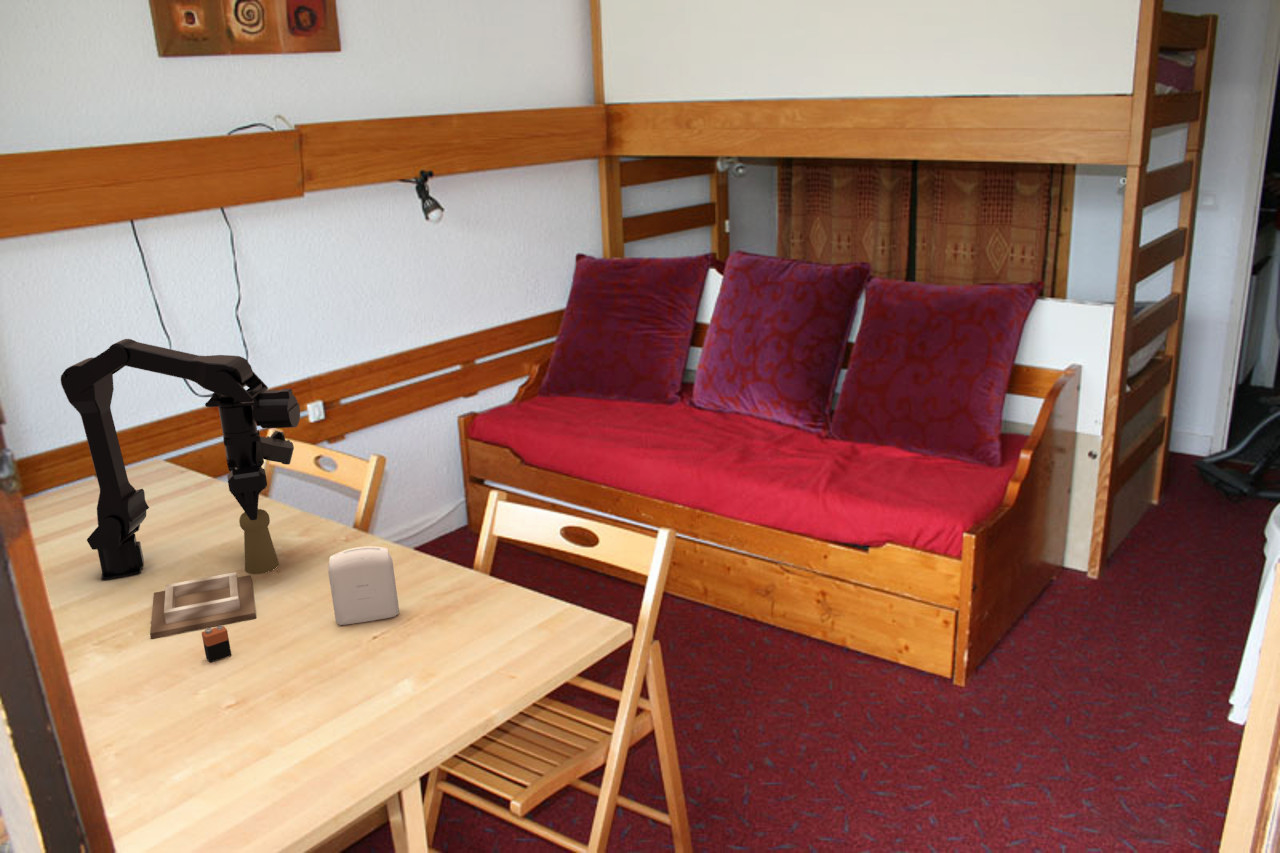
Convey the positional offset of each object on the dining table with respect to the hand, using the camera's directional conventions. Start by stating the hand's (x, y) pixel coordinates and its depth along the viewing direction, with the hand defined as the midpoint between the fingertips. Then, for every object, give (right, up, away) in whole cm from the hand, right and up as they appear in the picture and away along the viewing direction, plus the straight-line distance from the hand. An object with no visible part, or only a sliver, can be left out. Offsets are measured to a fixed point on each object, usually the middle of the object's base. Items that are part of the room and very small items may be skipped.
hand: (252, 510), depth 190 cm
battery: (+5, -20, -28) cm, 35 cm away
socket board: (-4, -15, -12) cm, 20 cm away
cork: (+1, -11, +3) cm, 11 cm away
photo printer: (+25, -16, -17) cm, 35 cm away
